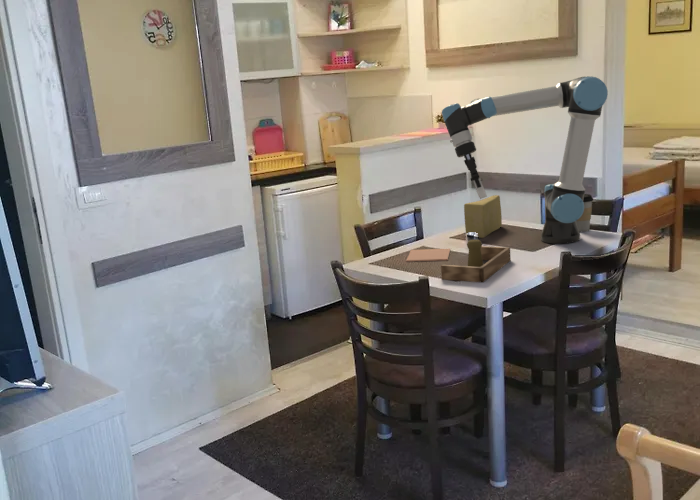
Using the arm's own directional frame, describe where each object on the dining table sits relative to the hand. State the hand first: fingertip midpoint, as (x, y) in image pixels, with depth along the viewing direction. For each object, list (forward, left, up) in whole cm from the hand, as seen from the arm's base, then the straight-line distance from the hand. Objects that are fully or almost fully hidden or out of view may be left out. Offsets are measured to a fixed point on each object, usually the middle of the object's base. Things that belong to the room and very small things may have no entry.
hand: (483, 197), depth 258 cm
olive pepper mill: (+3, +17, -24) cm, 29 cm away
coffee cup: (-40, -38, -24) cm, 60 cm away
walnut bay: (+3, +17, -23) cm, 29 cm away
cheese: (0, -43, -24) cm, 49 cm away
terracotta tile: (+22, -5, -23) cm, 33 cm away
